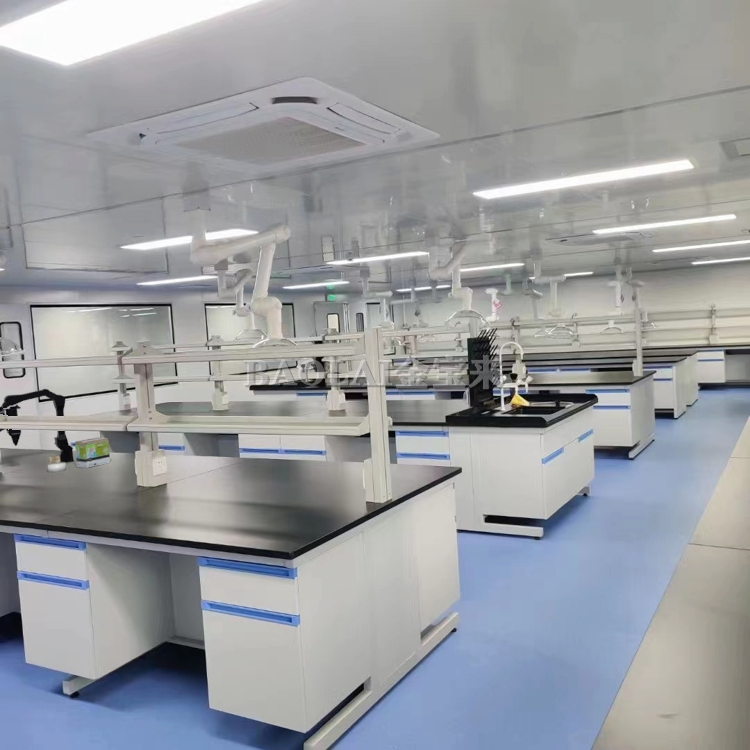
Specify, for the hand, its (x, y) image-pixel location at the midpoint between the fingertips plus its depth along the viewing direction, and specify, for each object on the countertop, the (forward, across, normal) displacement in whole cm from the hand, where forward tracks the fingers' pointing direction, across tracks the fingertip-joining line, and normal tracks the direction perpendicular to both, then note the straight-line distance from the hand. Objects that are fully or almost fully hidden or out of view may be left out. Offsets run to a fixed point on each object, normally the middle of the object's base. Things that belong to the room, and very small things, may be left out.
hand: (15, 444), depth 377 cm
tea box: (+15, +24, +36) cm, 46 cm away
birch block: (+14, +13, +18) cm, 26 cm away
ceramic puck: (+14, +25, +17) cm, 33 cm away
